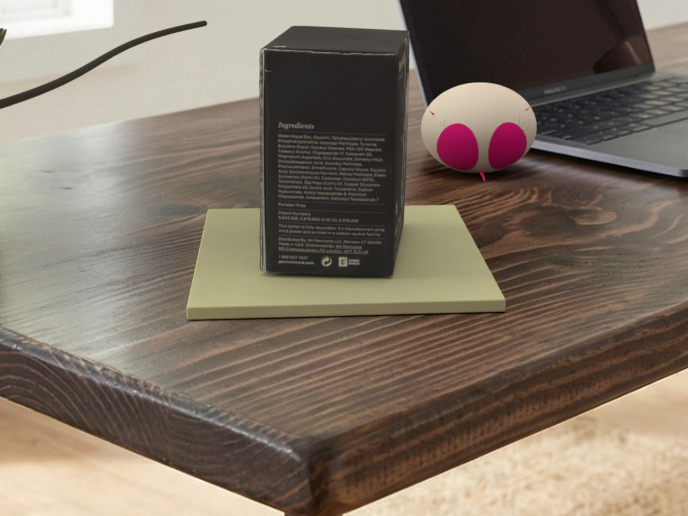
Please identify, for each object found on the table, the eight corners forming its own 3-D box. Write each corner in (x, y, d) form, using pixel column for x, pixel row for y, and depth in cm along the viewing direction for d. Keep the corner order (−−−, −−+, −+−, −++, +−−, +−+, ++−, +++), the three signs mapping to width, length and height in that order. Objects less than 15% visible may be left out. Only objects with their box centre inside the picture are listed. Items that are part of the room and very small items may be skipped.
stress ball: (425, 226, 85) (424, 155, 80) (419, 138, 90) (418, 65, 84) (540, 221, 85) (547, 150, 80) (528, 134, 90) (534, 61, 84)
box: (399, 280, 60) (400, 50, 57) (258, 277, 60) (249, 48, 57) (410, 223, 70) (411, 25, 67) (288, 221, 70) (283, 23, 67)
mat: (208, 219, 73) (207, 208, 73) (454, 214, 75) (454, 204, 74) (186, 320, 56) (186, 307, 56) (505, 312, 58) (506, 299, 58)
